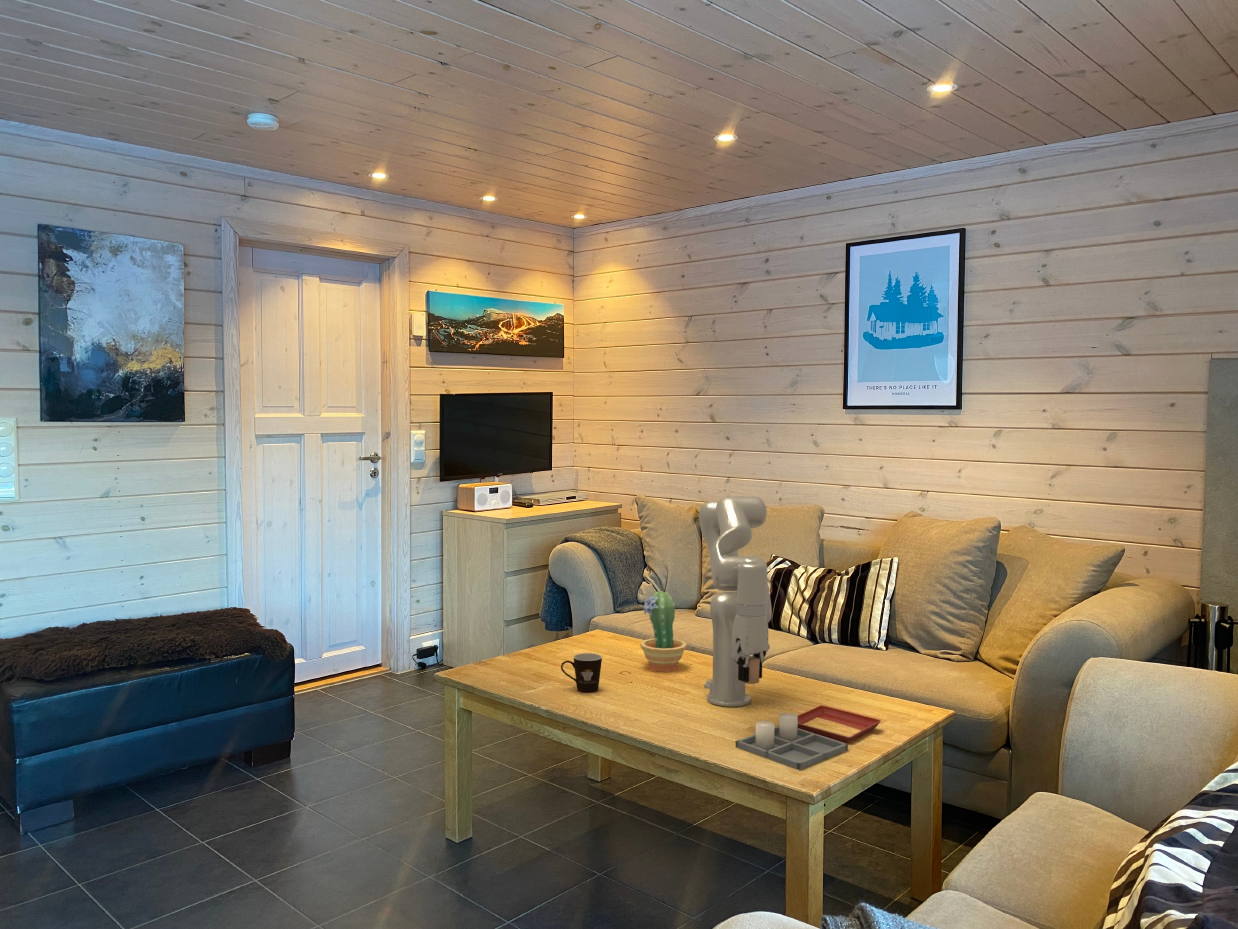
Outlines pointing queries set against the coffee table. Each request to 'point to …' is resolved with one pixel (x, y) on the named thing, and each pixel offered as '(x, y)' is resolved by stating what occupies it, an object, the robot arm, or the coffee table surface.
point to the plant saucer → (838, 717)
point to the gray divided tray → (796, 749)
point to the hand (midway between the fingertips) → (750, 678)
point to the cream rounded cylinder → (788, 726)
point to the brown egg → (753, 669)
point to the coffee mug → (586, 671)
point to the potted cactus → (662, 634)
